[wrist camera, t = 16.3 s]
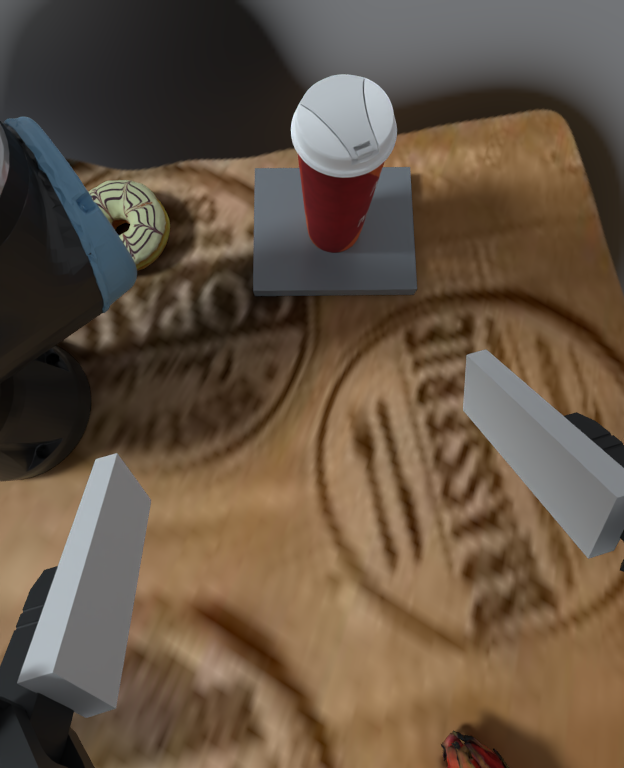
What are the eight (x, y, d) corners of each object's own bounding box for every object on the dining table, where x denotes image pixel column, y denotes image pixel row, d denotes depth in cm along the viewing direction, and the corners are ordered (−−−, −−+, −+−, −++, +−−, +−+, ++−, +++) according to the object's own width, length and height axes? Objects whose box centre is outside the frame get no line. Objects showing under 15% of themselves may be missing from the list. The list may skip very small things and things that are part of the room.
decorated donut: (67, 223, 45) (45, 203, 41) (149, 181, 46) (134, 158, 42) (106, 295, 44) (87, 281, 40) (189, 250, 45) (178, 232, 41)
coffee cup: (382, 244, 43) (420, 138, 28) (316, 274, 42) (318, 180, 27) (350, 183, 44) (369, 50, 29) (285, 211, 43) (271, 89, 29)
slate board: (255, 296, 43) (253, 290, 42) (256, 177, 46) (255, 168, 44) (413, 294, 43) (417, 289, 42) (406, 176, 46) (410, 167, 44)
